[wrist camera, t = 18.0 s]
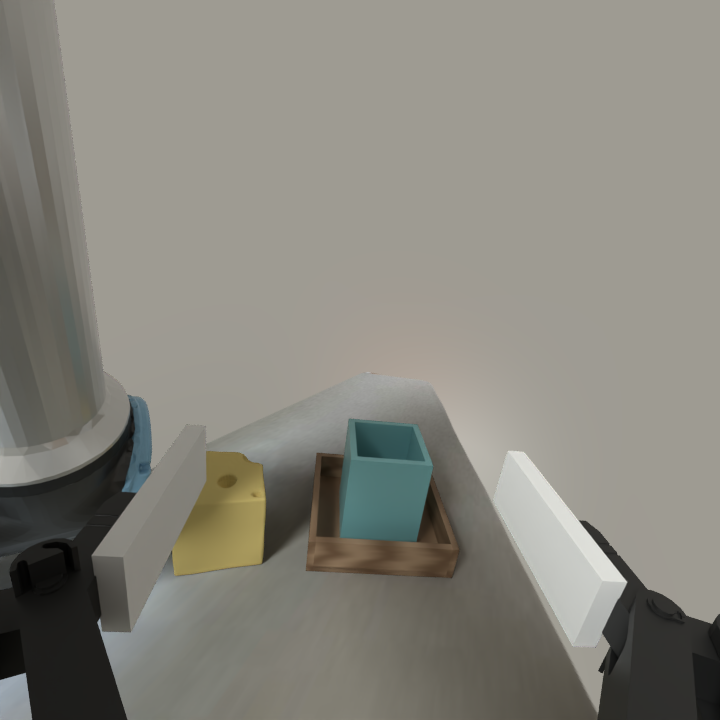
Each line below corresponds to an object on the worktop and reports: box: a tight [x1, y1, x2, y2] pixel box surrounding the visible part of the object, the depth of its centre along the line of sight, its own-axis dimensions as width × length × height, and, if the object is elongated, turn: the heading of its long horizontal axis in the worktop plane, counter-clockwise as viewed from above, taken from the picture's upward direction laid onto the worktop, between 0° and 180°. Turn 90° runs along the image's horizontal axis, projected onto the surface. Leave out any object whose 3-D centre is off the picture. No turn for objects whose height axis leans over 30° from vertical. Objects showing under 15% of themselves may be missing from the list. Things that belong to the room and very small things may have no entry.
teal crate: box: [339, 419, 433, 542], centre depth 53 cm, size 10×10×12 cm
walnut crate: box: [306, 453, 459, 578], centre depth 55 cm, size 18×18×4 cm
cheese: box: [172, 451, 266, 576], centre depth 48 cm, size 10×11×10 cm
